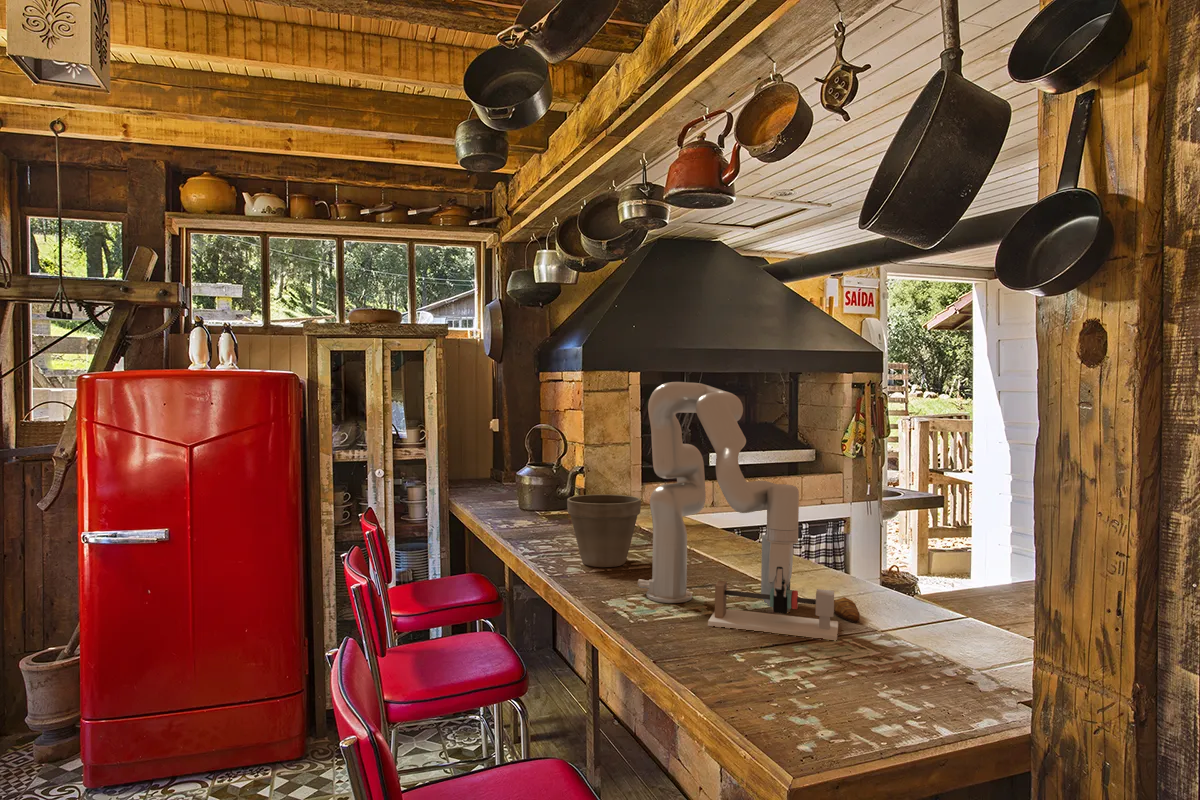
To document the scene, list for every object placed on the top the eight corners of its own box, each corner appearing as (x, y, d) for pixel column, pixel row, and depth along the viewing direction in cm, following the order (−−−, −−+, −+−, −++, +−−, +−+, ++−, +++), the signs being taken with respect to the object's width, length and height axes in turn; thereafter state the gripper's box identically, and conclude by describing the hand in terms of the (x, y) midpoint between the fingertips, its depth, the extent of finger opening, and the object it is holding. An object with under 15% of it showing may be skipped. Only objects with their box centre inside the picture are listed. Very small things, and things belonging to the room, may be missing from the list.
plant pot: (555, 557, 250) (556, 494, 250) (619, 552, 260) (620, 491, 260) (584, 574, 227) (585, 505, 227) (653, 567, 238) (654, 501, 238)
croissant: (820, 608, 194) (821, 590, 194) (845, 608, 195) (845, 589, 195) (843, 624, 181) (843, 604, 181) (869, 624, 182) (869, 604, 182)
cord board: (707, 625, 178) (708, 587, 178) (716, 612, 189) (717, 575, 189) (836, 641, 168) (837, 600, 168) (838, 626, 179) (838, 587, 179)
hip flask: (791, 613, 189) (792, 536, 189) (776, 613, 189) (777, 536, 189) (770, 596, 205) (771, 525, 205) (756, 596, 205) (757, 525, 204)
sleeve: (769, 606, 177) (770, 591, 177) (771, 602, 180) (771, 588, 180) (791, 608, 175) (791, 593, 175) (792, 604, 179) (792, 590, 179)
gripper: (770, 528, 187) (769, 599, 187) (762, 540, 171) (761, 618, 171) (800, 530, 184) (799, 603, 184) (795, 542, 169) (794, 621, 169)
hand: (781, 609), depth 178 cm, fingers closed on sleeve, 3 cm apart
